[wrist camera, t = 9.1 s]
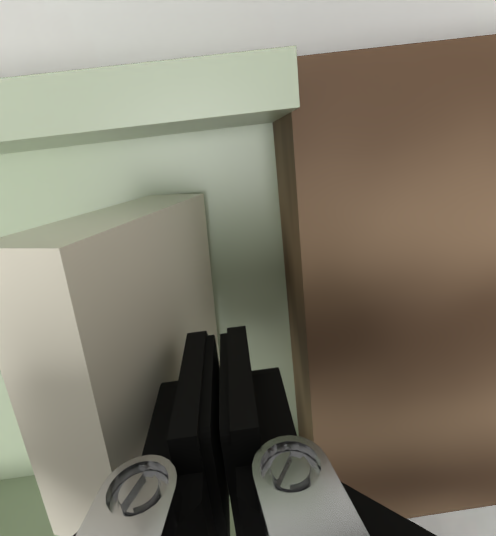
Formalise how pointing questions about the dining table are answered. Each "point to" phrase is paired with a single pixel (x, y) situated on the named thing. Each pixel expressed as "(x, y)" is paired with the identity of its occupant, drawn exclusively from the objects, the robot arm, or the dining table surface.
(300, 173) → the brown wooden flat block
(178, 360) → the tile
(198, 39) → the dining table surface
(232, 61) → the box
